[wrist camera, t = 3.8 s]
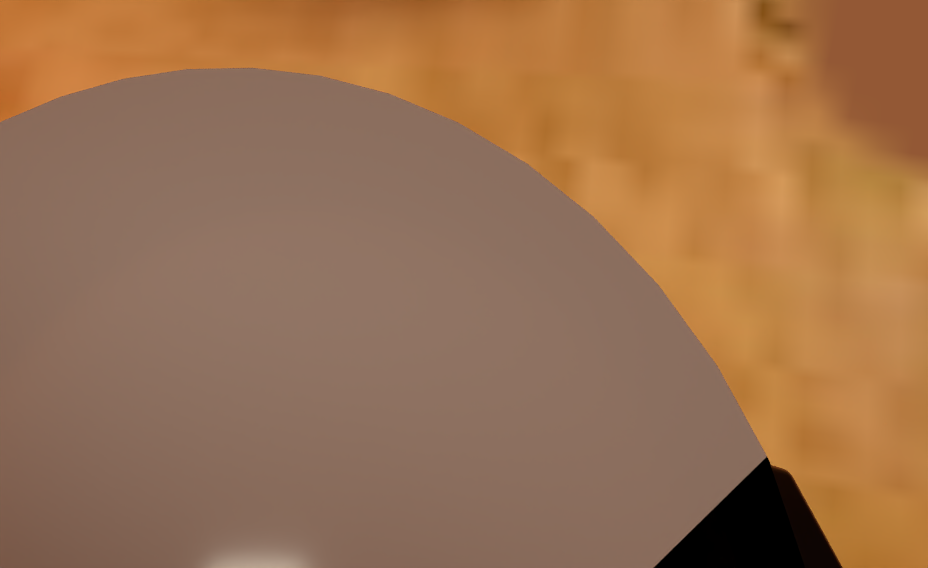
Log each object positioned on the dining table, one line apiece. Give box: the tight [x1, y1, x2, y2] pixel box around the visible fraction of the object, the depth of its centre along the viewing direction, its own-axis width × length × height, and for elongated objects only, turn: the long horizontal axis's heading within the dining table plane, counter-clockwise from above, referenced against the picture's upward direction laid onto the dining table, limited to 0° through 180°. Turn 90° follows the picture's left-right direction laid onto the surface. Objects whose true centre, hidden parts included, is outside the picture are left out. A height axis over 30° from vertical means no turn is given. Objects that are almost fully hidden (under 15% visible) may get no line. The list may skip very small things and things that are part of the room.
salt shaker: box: [0, 68, 805, 568], centre depth 8 cm, size 5×5×13 cm
